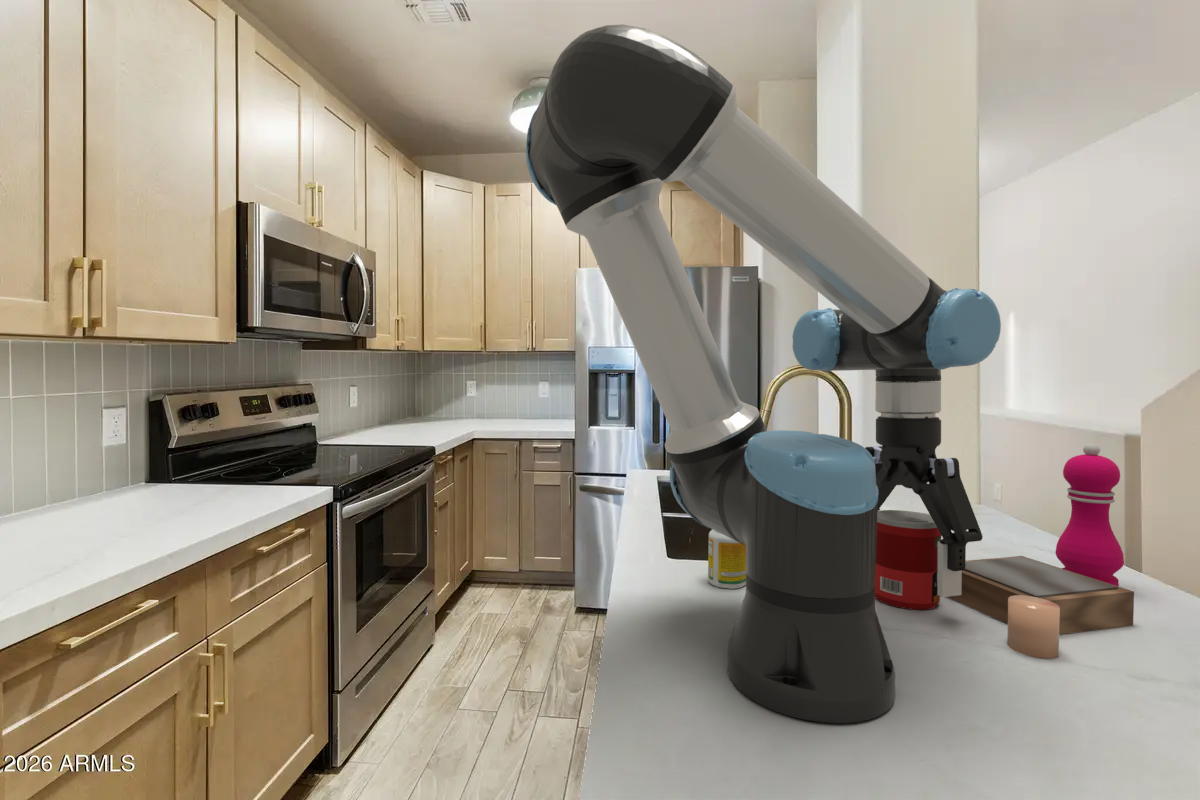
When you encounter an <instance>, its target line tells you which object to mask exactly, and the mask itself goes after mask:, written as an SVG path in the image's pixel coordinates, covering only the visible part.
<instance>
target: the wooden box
mask: <svg viewBox="0 0 1200 800" xmlns="http://www.w3.org/2000/svg"><path fill="white" fill-rule="evenodd" d="M1062 568H1063V567H1058V566H1055V565H1052V564H1048V563H1045V562H1042V561H1040V560H1035V559H1033V558H1029V557H1026V556H1023V555H1017V556H1005V557H1004V556H1003V557H992V558H981V559H971V560H966V561H965V569H964V570H962V591H961V595H958V596H949V597H948V599H951V600H954V601H956V602H958V603H960V604H962V605H965V606H966V607H968V608H971V609H973V610H976V611H978V612H979V613H982V614H985V615H986V616H989V617H990V618H993V619H996V620H997V621H1000V622H1002V623H1003V624H1006V625H1008V598H1009V597H1010V596H1014V595H1024V596H1032V597H1037V598H1042V599H1045V600H1048V601H1051V602H1053V603H1055V604H1057V605H1058V606H1059V607H1060V623H1059V636H1060V635H1067V634H1075V633H1082V632H1089V631H1098V630H1105V629H1112V628H1113V629H1114V628H1121V627H1129V626H1134V613H1135V612H1134V606H1135V591H1134V590H1131V589H1127V588H1123V587H1121V586H1119V585H1118V586H1115V585H1112V584H1109V583H1106V582H1103V581H1099V580H1096V579H1093V578H1090V577H1087V576H1084V575H1081V574H1077V573H1074V572H1071V571H1068V570H1065V569H1062Z"/></svg>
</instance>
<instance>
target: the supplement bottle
mask: <svg viewBox="0 0 1200 800" xmlns="http://www.w3.org/2000/svg"><path fill="white" fill-rule="evenodd" d="M707 547H708V548H707V549H708V552H707V553H708V559H707V560H708V561H707V564H708V566H707V575H708V579H707V580H708V582H709V583H710V584H711V585H712V586H714V587H717V588H719V589H720V588H722V589H731V590H732V589H741V588H743V587H744V586H746V546H745V545H743V544H741V543H739V542H737V541H735V540H733V539H731V538H729V537H727V536H725V535H723V534H721V533H719V532H717V531H715V530H713V529H711V530H710V531H709V533H708V546H707Z"/></svg>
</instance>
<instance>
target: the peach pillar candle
mask: <svg viewBox="0 0 1200 800" xmlns="http://www.w3.org/2000/svg"><path fill="white" fill-rule="evenodd" d="M1059 623H1060V607H1059V606H1058V605H1057V604H1055V603H1053V602H1051V601H1048V600H1045V599H1042V598H1037V597H1032V596H1024V595H1014V596H1010V597H1009V598H1008V624H1007V638H1006V639H1007V641H1006V643H1007V644H1006V645H1007V646H1008V647H1009V648H1010V649H1011V650H1013V651H1015V652H1016V653H1018V654H1022V655H1024V656H1028V657H1031V658H1035V659H1041V660H1042V659H1043V660H1053V659H1057V658H1058V657H1060V656H1059V655H1060V653H1059V652H1060V635H1059Z"/></svg>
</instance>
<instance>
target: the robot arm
mask: <svg viewBox="0 0 1200 800" xmlns="http://www.w3.org/2000/svg"><path fill="white" fill-rule="evenodd" d="M736 92H737V91H736V87H735V85H734V84H733V83H731V81H729V80H728V79H727V78H726V77H724V75H723V74H721V73H720V72H719V71H717V69H715V68H714V67H713V66H711V65H710V64H709V63H707V62H706V61H705V60H704V59H703V58H702V57H700V56H699V55H697V54H696V53H695V52H693V51H692V50H690V49H688V47H686V46H684V45H682V44H681V43H678V42H677V41H675V40H673V39H671V38H669V37H668V36H665V35H663V34H660V33H657V32H655V31H653V30H650V29H646V28H644V27H638V26H634V25H628V24H608V25H603V26H599V27H596V28H593V29H591V30H587V31H585V32H583V33H581V34H580V35H578V36H577V37H576V38H575V39H573V40H572V41H571V42H570V43H569V44H568V45H567V46H566V47H565V48H564V49H563V51H562V52H561V53H560V55H559V56H558V58H557V59H556V61H555V63H554V65H553V67H552V70H551V72H550V76H549V79H548V82H547V84H546V87H545V89H544V91H543V95H542V97H541V98H540V101H539V104H538V106H537V108H536V110H535V111H534V112H533V114H532V116H531V119H530V122H529V124H528V129H527V134H526V141H525V142H526V145H525V160H526V161H525V162H526V167H527V170H528V173H529V176H530V178H531V180H532V183H533V184H534V186H535V188H536V190H538V192H539V193H540V194H541V195H542V196H543V198H544V199H546V201H548V202H550V204H553V205H555V206H556V207H557V210H558V211H559V214H560V216H561V218H562V220H563V223H564V225H565V227H566V229H567V230H569V231H570V232H573V233H575V234H577V235H580V236H583V237H584V238H585V239H586V240H587V243H588V244H589V248H590V250H591V253H593V257H594V259H595V260H596V263H597V265H598V267H599V271H600V272H601V274H602V277H603V279H604V280H605V284H606V286H607V287H608V288H607V289H608V290H609V292H610V295H611V297H612V299H613V302H614V304H615V306H616V308H617V311H618V312H619V313H618V314H619V315H620V317H621V319H622V322H623V325H624V326H625V328H626V331H627V333H628V336H629V338H630V340H631V342H632V344H633V347H634V349H635V351H636V354H637V356H638V358H639V360H640V362H641V365H642V368H643V370H644V371H645V374H646V376H647V379H648V381H649V383H650V385H651V387H652V389H653V392H654V394H655V397H656V398H657V401H658V403H659V405H660V408H661V410H662V412H663V415H664V417H665V419H666V421H667V424H668V426H669V430H670V431H669V433H668V435H667V438H666V440H665V442H664V448H665V451H666V452H667V455H668V458H669V460H670V462H671V466H670V467H669V482H670V483H669V484H670V487H671V491H672V494H673V496H674V498H675V500H676V502H677V503H678V505H679V506H680V507H681V508H682V510H683V511H684V512H685V513H687V515H688V516H689V517H690V518H691V519H693V520H695V522H697V523H698V524H700V525H702V526H703V527H705V528H707V529H711V530H712V529H713V530H715V531H717V532H719V533H721V534H723V535H725V536H727V537H729V538H731V539H733V540H735V541H737V542H739V543H741V544H743V545H745V546H746V584H745V594H744V596H743V600H742V603H741V606H740V609H739V611H738V615H737V617H736V620H735V623H734V627H733V630H732V633H731V636H730V638H729V640H728V644H727V652H726V653H727V654H726V655H727V656H726V657H727V660H726V662H727V666H726V667H727V674H728V675H727V676H729V679H730V681H731V682H732V684H733V685H734V686H735V687H736V688H737V690H739V691H740V692H741V693H743V694H744V696H746V697H747V698H749V699H750V700H752V701H754V702H756V703H757V704H760V706H763V707H765V708H768V709H770V710H772V711H774V712H778V713H780V714H783V715H786V716H789V717H793V718H798V719H800V720H801V719H802V720H807V721H813V722H820V723H830V724H832V723H833V724H845V723H846V724H848V723H858V722H864V721H867V720H871V719H874V718H878V717H879V716H882V715H883V714H885V713H886V712H888V711H889V710H890V709H891V708H892V707H893V704H894V703H895V699H896V671H895V667H894V664H893V661H892V659H891V655H890V651H889V648H888V645H887V641H886V638H885V636H884V633H883V630H882V629H883V628H882V627H881V624H880V621H879V618H878V615H877V614H878V613H877V612H876V602H875V601H876V598H875V572H876V541H877V511H881V507H882V505H883V504H884V503H885V502H886V500H887V498H888V497H889V496H890V495H891V493H892V492H893V491H894V489H895V488H896V486H902V487H904V488H906V489H909V490H910V489H911V490H912V491H913V493H915V494H916V495H918V496H919V497H920V499H921V501H922V503H923V505H924V507H925V508H926V510H927V512H928V514H929V515H930V516H931V517H932V519H933V521H934V523H935V525H936V526H937V528H938V530H939V532H940V534H941V541H938V591H937V595H939V596H940V598H949V596H958V595H961V591H962V570H964V569H965V561H967V560H966V558H967V557H966V553H967V551H966V548H967V547H966V546H967V544H968V543H972V542H981V541H982V540H983V533H982V531H981V528H980V526H979V522H978V520H977V518H976V515H975V512H974V510H973V507H972V503H971V502H970V500H969V496H968V495H967V494H968V493H967V491H966V489H965V486H964V484H963V480H962V477H961V472H960V463H959V460H958V458H957V457H944V458H943V457H942V458H937V454H936V449H937V447H939V446H940V445H941V443H942V419H940V417H938V416H936V414H939V413H940V412H941V411H942V370H946V369H949V368H958V367H970V366H974V365H977V364H980V363H981V362H983V361H984V360H986V359H987V358H989V356H990V355H991V354H992V352H993V351H994V349H995V348H996V345H997V343H998V341H999V339H1000V334H1001V329H1002V328H1001V326H1002V322H1001V316H1000V312H999V309H998V307H997V305H996V303H995V302H994V300H993V299H992V298H991V297H990V296H989V294H987V293H985V292H984V291H982V290H977V289H975V288H964V289H963V288H957V287H956V288H952V289H948V290H945V289H943V288H942V287H941V286H940V285H938V284H937V282H936V281H934V280H933V279H932V278H930V277H929V276H928V274H926V273H925V272H924V271H923V270H922V268H921V269H920V268H919V267H918V266H917V265H916V264H915V263H914V262H913V261H912V260H910V258H909V257H907V256H906V254H904V253H902V252H901V251H900V250H899V249H898V248H897V247H896V246H895V245H894V244H893V243H892V242H890V241H889V239H887V238H886V237H884V235H882V234H881V233H880V232H879V231H878V230H876V228H875V227H874V226H872V224H870V223H869V222H868V221H866V219H864V218H863V217H862V216H861V215H860V214H859V213H857V211H856V210H854V209H853V208H852V207H851V206H850V205H848V204H847V203H846V202H845V201H844V200H843V199H842V198H841V197H840V196H838V194H836V193H835V192H834V191H833V190H832V189H830V188H829V187H828V186H827V185H826V184H825V183H824V182H823V181H822V180H820V179H819V178H818V176H816V175H814V173H813V172H812V171H810V169H808V168H807V167H805V165H803V164H802V163H801V162H800V161H799V160H798V159H797V158H796V157H794V156H793V154H791V153H790V152H789V151H788V150H786V149H785V148H784V147H783V146H782V145H781V144H780V143H779V142H778V141H776V139H775V138H773V137H772V136H771V135H770V134H769V133H767V131H766V130H764V129H763V128H762V127H761V126H760V125H758V124H757V123H756V121H754V120H753V119H752V118H750V117H749V115H747V114H746V113H745V112H744V111H742V109H740V108H739V106H738V104H737V95H736V94H737V93H736ZM677 181H678V182H681V183H683V184H684V185H685V186H686V187H687V188H689V189H691V191H692V192H694V193H695V194H696V195H697V196H699V197H700V198H701V199H702V200H704V201H705V202H706V203H708V204H709V205H710V206H711V207H712V208H713V209H714V210H716V211H717V212H719V213H720V214H721V215H723V216H724V217H725V218H726V219H727V220H728V221H730V222H731V223H732V224H733V225H735V226H736V227H737V228H739V229H740V230H741V231H742V232H743V233H744V234H746V235H747V236H748V237H750V239H752V240H753V241H754V242H756V243H757V244H759V246H761V248H763V249H764V250H766V251H767V252H768V253H769V254H771V255H772V256H773V257H774V258H776V259H777V260H778V261H779V262H781V264H783V265H784V266H786V267H787V268H788V269H789V270H790V271H792V272H793V273H794V274H795V275H797V276H798V277H799V278H801V279H802V280H803V281H804V282H806V283H807V284H808V285H809V286H810V287H812V288H813V289H814V290H815V291H817V292H818V293H819V294H820V295H822V296H823V297H824V298H826V299H827V300H828V301H829V302H831V304H833V305H834V306H836V307H837V308H838V309H833V307H832V308H831V307H829V308H824V309H811V310H807V312H805V313H803V314H802V315H801V316H800V317H799V318H798V319H797V322H795V323H796V324H795V326H794V328H793V331H792V347H791V348H792V351H793V354H794V357H795V359H796V361H797V363H798V364H799V365H800V366H802V367H803V368H804V369H806V370H809V371H823V372H824V373H827V372H832V371H833V372H834V371H870V370H871V371H875V400H874V403H875V406H874V408H875V411H876V412H877V413H879V414H880V416H877V418H876V419H875V442H876V444H878V446H877V445H876V446H866V447H864V446H862V445H861V444H859V443H857V442H854V441H853V440H849V439H846V438H843V437H840V436H839V437H838V436H834V435H831V434H824V433H813V432H812V431H811V432H809V431H805V430H804V431H802V430H788V429H787V430H786V429H785V430H783V429H781V430H767V428H766V426H765V425H766V424H765V423H764V420H763V418H762V416H761V413H760V411H759V409H758V407H756V406H753V405H751V404H749V403H746V402H743V401H741V398H739V396H738V393H737V390H736V389H735V386H734V384H733V381H732V379H731V377H730V374H729V372H728V369H727V367H726V365H725V363H724V360H723V358H722V355H721V352H720V351H719V347H718V345H717V343H716V341H715V339H714V336H713V334H712V331H711V328H710V326H709V324H708V321H707V319H706V317H705V314H704V312H703V310H702V308H701V307H702V306H701V305H700V303H699V300H698V297H697V295H696V293H695V290H694V288H693V285H692V283H691V280H690V278H689V276H688V273H687V272H686V268H685V266H684V264H683V261H682V259H681V257H680V254H679V252H678V250H677V247H676V245H675V242H674V241H673V238H672V235H671V233H670V231H669V227H668V226H667V223H666V220H665V218H664V216H663V214H662V211H661V208H660V206H659V205H658V204H659V198H660V195H661V192H662V189H663V186H664V184H665V183H671V182H677ZM967 530H968V531H967ZM952 531H953V532H952Z"/></svg>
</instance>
